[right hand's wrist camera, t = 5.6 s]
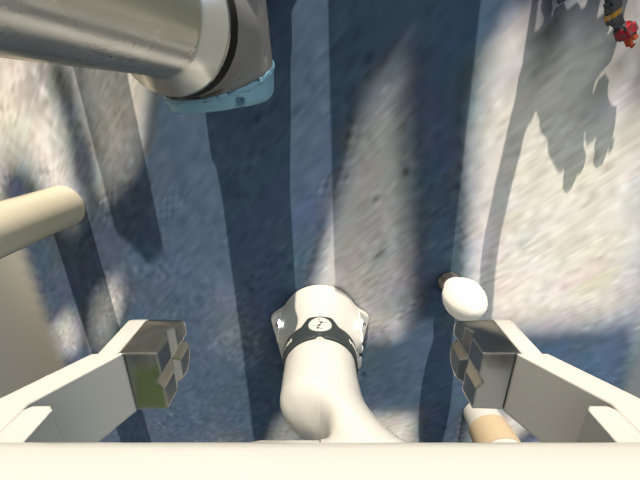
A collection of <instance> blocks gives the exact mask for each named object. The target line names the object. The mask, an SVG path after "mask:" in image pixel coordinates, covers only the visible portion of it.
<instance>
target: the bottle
mask: <svg viewBox="0 0 640 480" xmlns="http://www.w3.org/2000/svg"><path fill="white" fill-rule="evenodd" d="M84 216H85V205H84V202H83V200H82V199H81V197H80V196H79V195H78V194H77V193H76V192H75V191H74V190H72V189H70V188H68V187H65V186H53V187H50V188H46V189H42V190H39V191H35V192H31V193H28V194H24V195H20V196H17V197H13V198H9V199H6V200H2V201H0V259H1V258H3V257H5V256H7V255H10V254H12V253H14V252H16V251H18V250H21V249H23V248H25V247H27V246H29V245H32V244H34V243H36V242H38V241H40V240H43V239H45V238H47V237H49V236H51V235H54V234H56V233H58V232H60V231H62V230H65V229H67V228H69V227H71V226H73V225H76V224H78V223H79V222H81V221H82V219H83V218H84Z"/></svg>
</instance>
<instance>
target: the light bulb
mask: <svg viewBox="0 0 640 480" xmlns="http://www.w3.org/2000/svg"><path fill="white" fill-rule="evenodd" d="M438 285H439V287H440V288H441V290H442V301H443V304H444V306H445V308H446V310H447V311H448V312H449V313H450V314H451V315H452V316H453V317H455V318H456V319H458V320H461V321H476V320H478V319H480V318H481V317H482V316H483V315H484V314H485V312H486V310H487V306H488V302H487V296H486V294H485V292H484V290H483V289H482V287H481V286H480V285H479V284H477V283H476V282H474V281H473V280H470V279H468V278H460V277H459V276H458V275H457V274H455V273H445V274H443V275H442V276H441V277H440V278H439V280H438Z"/></svg>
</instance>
